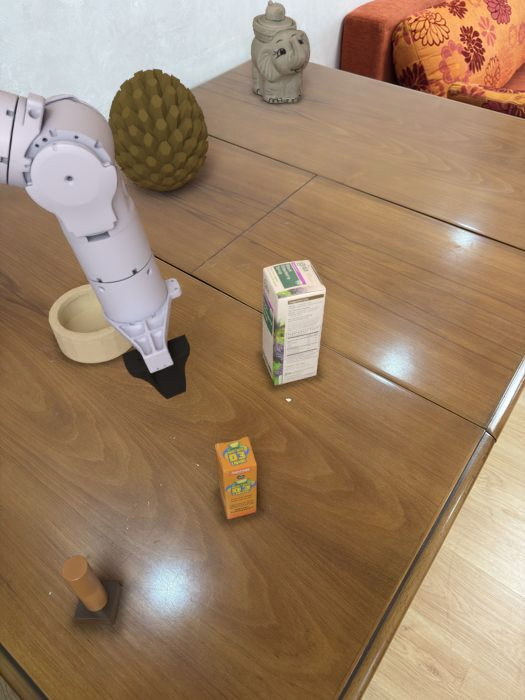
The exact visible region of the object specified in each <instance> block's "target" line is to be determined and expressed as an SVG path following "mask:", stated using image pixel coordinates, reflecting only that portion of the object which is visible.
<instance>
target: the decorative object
mask: <svg viewBox="0 0 525 700" xmlns="http://www.w3.org/2000/svg"><path fill="white" fill-rule="evenodd" d="M108 113H109V114H108V117H109V118H108V120H107V122H108V124H109V126H110V128H111V131H112V135H113V139H114V154H115V163H116V164H117V166H118V167H119V168H120V170H121V172H122V173H123V174H124V175H125V177H127V178H128V179H129V180H131V182H133V184H135V185H136V186H137V187H140V188H146V189H149V190H153V191H155V192H161V193H162V192H172V191H176V190H177V189H180V188H181V187H183V186H184V185H186V184H187V183H189V182H191V181H192V180H194V179H196V178H197V177H198V176H199V174H200V173H201V172H200V169H201V168H202V167H203V166H205V163H206V159H207V155H206V154H207V152H208V151H209V140H207V139H208V137H209V135H208V134H209V133H208V127H207V124H206V121H205V119H206V118H205V114H204V112H203V109H202V107H201V106H200V105H199V103H198V101H197V99H196V96H195V95H194V93H193V92H192V90H191V89H190V88H189V87H186V86H185V85H184V84H183V83H182V82H181V79H180V78H178V77H176V76H174V74H172V73H170V74H169V73H167V72H163V69H159V68H152V69H146V70H143V69H141V70H138V71H136V72H134V73H133V76H132V77H130V78H129V79H126V80H124V81H123V83H122V84H120V86H119V89H118V90H117V91H116V93H115V94H114V96H113V99H112V101H111V105H110V108H109V112H108Z"/></svg>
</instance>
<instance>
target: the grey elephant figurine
mask: <svg viewBox="0 0 525 700" xmlns="http://www.w3.org/2000/svg"><path fill="white" fill-rule="evenodd" d="M297 28H298V27H297V22H296V20H294V19H293V18H292V17H290V16H286V8H285V6H284V5H283V4H282V3H279V2H277V1H274V2H273V0H268V2H267V6H266V8H265V13H262V14H258V15H256V16H254V17H253V19H252V31H253V35H254V37H253V39H252V41H251V45H250V56H251V61H252V69H251V77H252V80H253V81H252V91H253V92H254V93H255V94H257V95H259V96H262V99H263V100H264V101H266V102H267V103H270V104H282V103H297V102H298V101H299V100H300V99H301V87H302V85H303V71H304V70H305V69H306V68H307V67H308V64H309V62H310V59H311V46H310V40H309V36H308V35H307V32H305V31H304V30H302V29H297ZM260 92H261V93H260ZM298 95H300V96H299V97H298ZM296 97H297V98H296ZM283 98H295V99H283ZM268 99H269V100H268ZM278 99H281V100H278Z"/></svg>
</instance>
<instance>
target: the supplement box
mask: <svg viewBox="0 0 525 700" xmlns="http://www.w3.org/2000/svg"><path fill="white" fill-rule="evenodd" d="M214 449H215V456H216V465H217V473H218V475H217V476H218V484H219V496H220V498H221V503H222V505H223V509H224V512H225V516H226V518H227V520H231V519H236V518H239V517H242V516H246V515H247V516H248V515H250V514H253V513H257V502H258V501H257V500H258V499H257V498H258V497H257V496H258V495H257V494H258V487H257V486H258V481H257V480H258V466H257V465H258V464H257V461H256V458H255V454H254V450H253V447H252V443H251V439H250V438H249V437H248V436H244V437H241V438H240V439H235V440H232V441H227V442H218V443H215V444H214Z"/></svg>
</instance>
